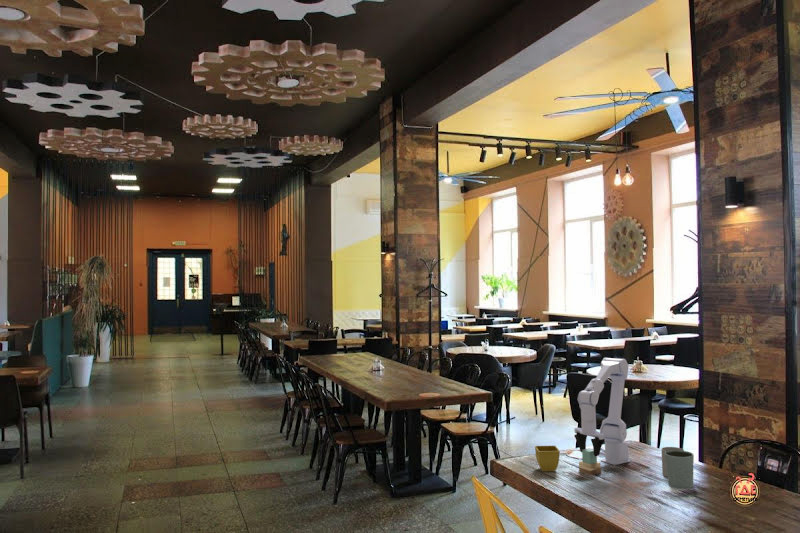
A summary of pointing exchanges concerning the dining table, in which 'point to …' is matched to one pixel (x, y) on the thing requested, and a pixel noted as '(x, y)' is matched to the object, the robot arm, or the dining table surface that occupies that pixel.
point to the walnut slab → (590, 471)
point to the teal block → (589, 456)
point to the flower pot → (547, 457)
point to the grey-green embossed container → (680, 468)
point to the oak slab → (589, 466)
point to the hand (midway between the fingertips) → (589, 453)
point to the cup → (664, 468)
